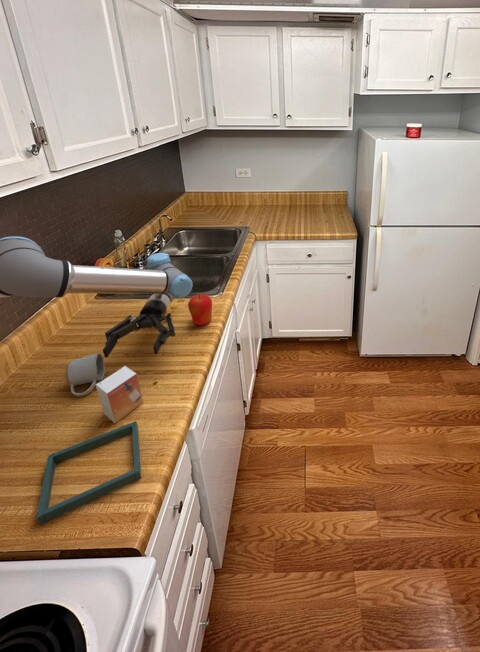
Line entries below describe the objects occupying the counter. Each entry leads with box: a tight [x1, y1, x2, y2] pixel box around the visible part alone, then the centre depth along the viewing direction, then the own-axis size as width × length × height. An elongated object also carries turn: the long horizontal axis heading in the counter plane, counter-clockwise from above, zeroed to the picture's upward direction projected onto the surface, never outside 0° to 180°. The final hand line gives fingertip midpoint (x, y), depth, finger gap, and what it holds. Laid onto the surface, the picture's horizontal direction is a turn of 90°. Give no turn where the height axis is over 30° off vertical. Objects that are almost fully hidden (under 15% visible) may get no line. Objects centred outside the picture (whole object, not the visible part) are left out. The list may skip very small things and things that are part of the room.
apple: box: [187, 293, 213, 326], centre depth 123 cm, size 9×8×12 cm
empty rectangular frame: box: [36, 420, 142, 525], centre depth 75 cm, size 18×14×2 cm
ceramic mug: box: [64, 352, 106, 397], centre depth 96 cm, size 11×8×8 cm
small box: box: [95, 365, 144, 424], centre depth 88 cm, size 8×6×10 cm
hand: (130, 352), depth 95 cm, fingers open, 13 cm apart
